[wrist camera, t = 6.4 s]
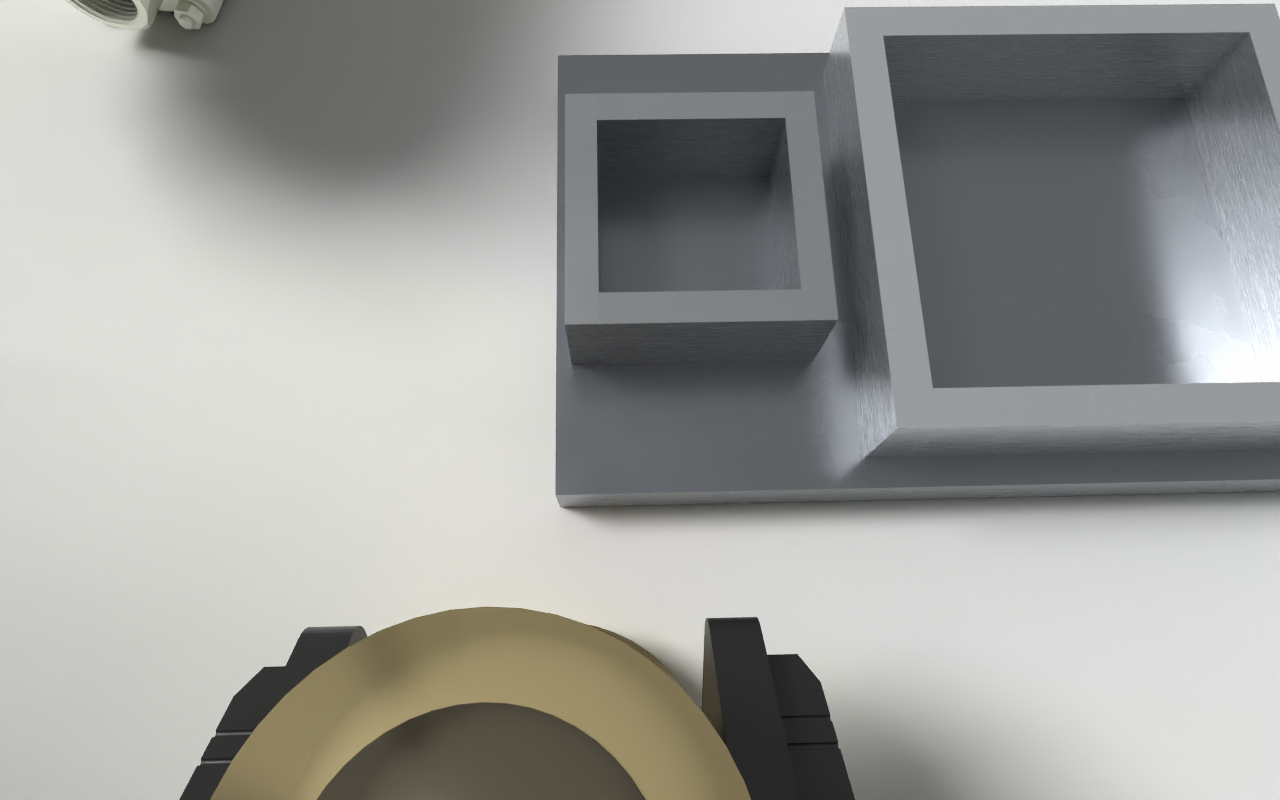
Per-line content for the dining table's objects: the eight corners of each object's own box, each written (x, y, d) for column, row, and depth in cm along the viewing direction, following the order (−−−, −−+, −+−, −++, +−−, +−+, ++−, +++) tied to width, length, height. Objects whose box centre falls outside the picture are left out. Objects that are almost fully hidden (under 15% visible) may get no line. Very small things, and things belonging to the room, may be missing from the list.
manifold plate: (560, 506, 17) (546, 470, 14) (562, 90, 20) (550, -14, 17) (1292, 491, 17) (1436, 451, 14) (1182, 84, 20) (1281, -20, 17)
